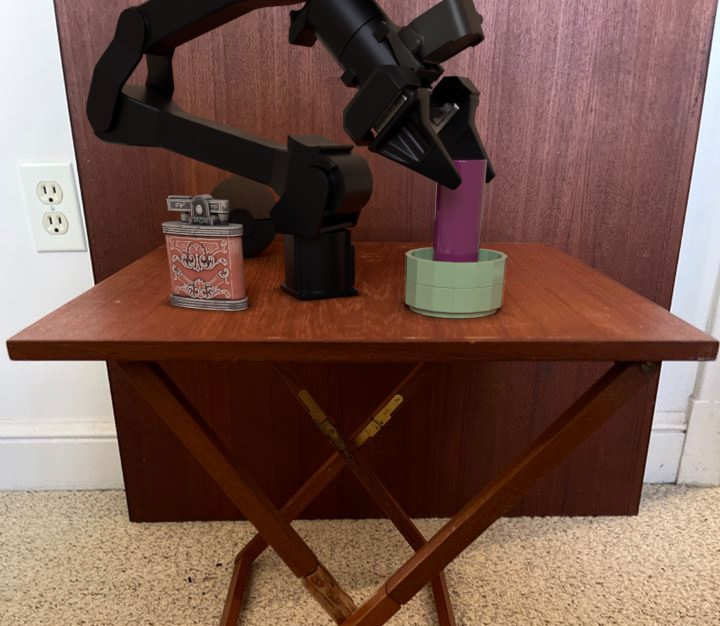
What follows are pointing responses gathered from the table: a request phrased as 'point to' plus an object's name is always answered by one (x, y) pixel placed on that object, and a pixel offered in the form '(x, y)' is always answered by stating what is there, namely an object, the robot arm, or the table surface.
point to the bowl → (454, 284)
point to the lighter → (205, 255)
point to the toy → (248, 211)
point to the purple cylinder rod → (460, 214)
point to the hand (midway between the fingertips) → (476, 182)
